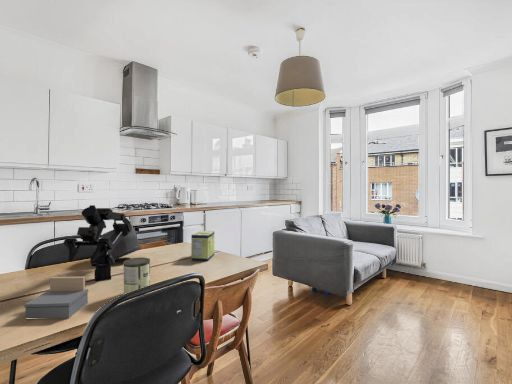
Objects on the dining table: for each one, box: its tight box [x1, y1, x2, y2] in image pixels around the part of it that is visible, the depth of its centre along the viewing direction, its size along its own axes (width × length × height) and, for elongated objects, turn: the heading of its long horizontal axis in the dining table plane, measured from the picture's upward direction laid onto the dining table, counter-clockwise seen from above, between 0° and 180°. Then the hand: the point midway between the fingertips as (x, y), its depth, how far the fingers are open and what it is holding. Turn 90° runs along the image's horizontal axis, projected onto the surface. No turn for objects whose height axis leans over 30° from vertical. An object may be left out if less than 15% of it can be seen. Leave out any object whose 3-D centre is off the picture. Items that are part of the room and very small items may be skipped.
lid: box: [24, 276, 89, 308], centre depth 100 cm, size 12×14×6 cm
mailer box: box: [24, 292, 89, 319], centre depth 100 cm, size 12×14×4 cm
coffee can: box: [122, 257, 151, 295], centre depth 115 cm, size 10×10×14 cm
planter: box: [101, 223, 142, 260], centre depth 165 cm, size 18×18×16 cm
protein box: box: [190, 230, 215, 262], centre depth 173 cm, size 10×16×16 cm
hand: (81, 261), depth 115 cm, fingers open, 9 cm apart
